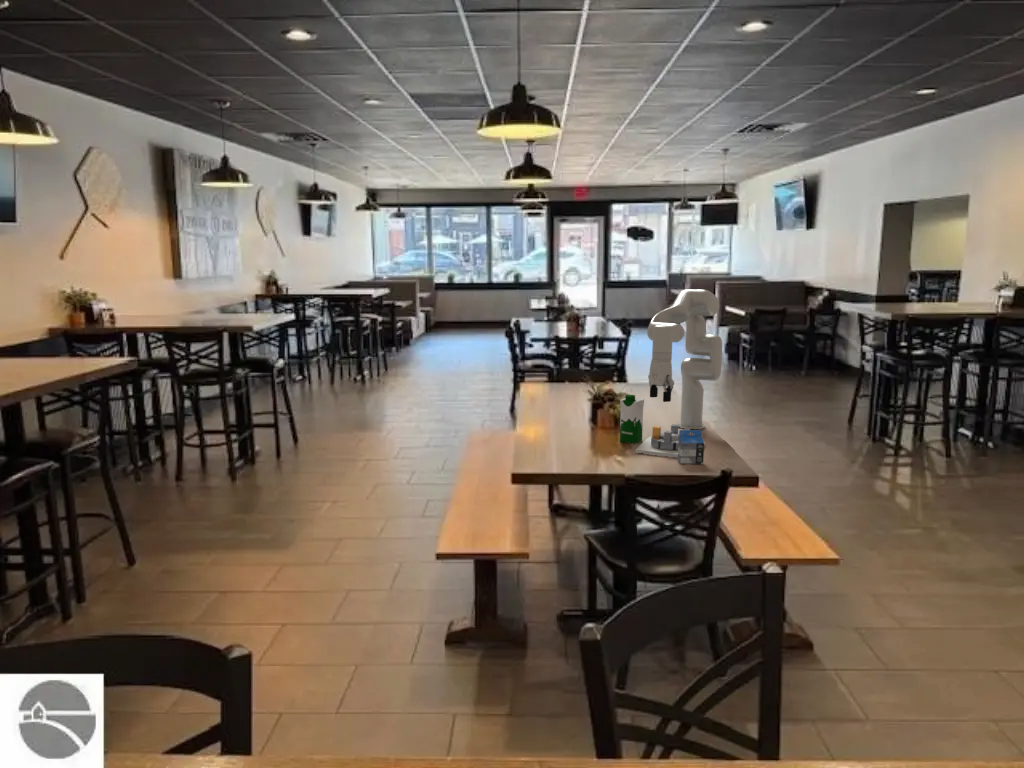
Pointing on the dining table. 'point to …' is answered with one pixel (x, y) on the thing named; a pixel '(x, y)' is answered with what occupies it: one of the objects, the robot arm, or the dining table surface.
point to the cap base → (651, 450)
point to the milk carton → (631, 419)
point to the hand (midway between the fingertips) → (660, 399)
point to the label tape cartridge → (690, 447)
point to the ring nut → (665, 438)
